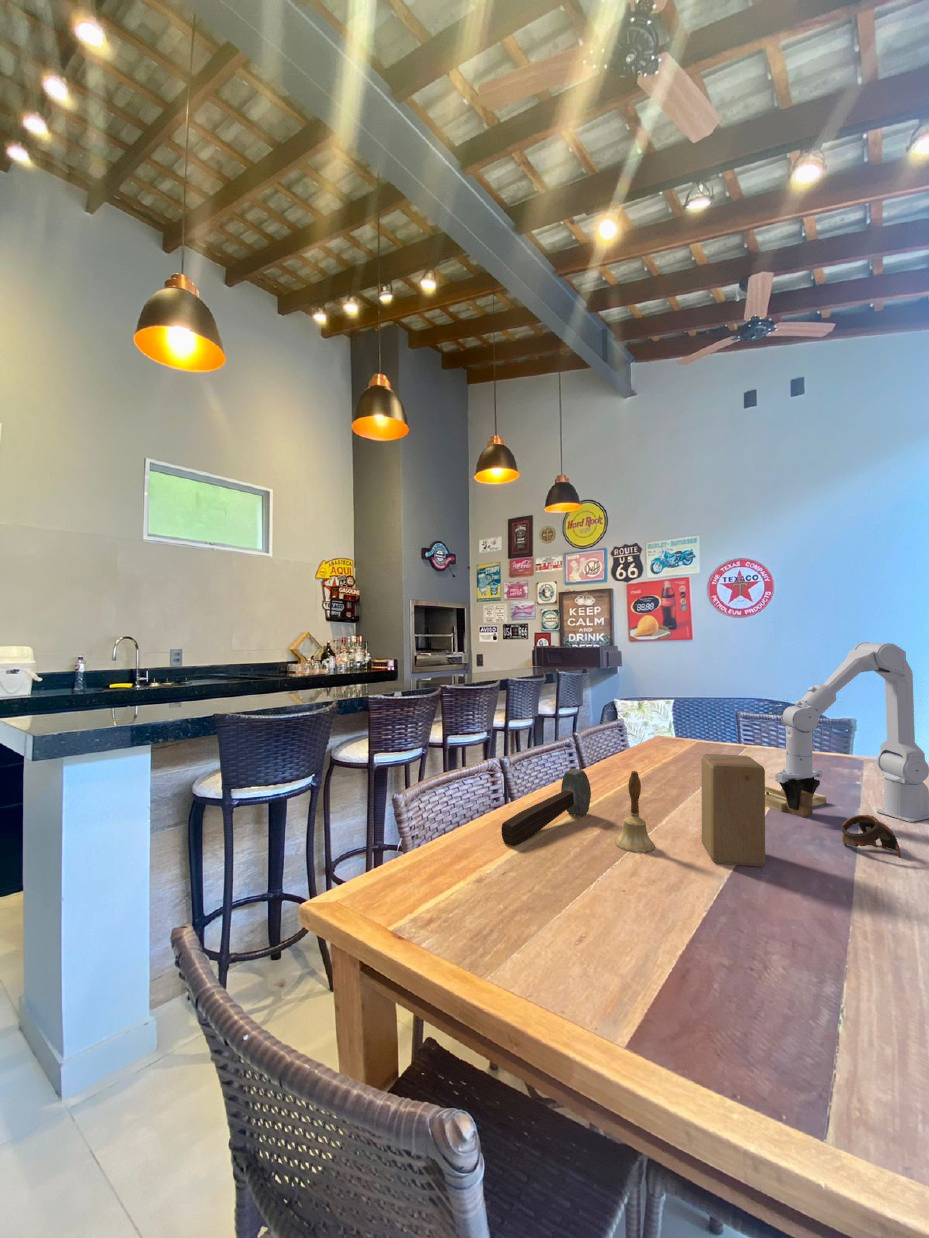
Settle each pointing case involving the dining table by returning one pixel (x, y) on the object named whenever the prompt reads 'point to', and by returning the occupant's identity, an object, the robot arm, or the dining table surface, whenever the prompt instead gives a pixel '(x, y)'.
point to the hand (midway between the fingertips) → (799, 807)
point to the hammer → (550, 808)
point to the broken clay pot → (869, 833)
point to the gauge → (804, 804)
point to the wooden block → (733, 809)
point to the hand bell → (634, 823)
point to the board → (780, 802)
